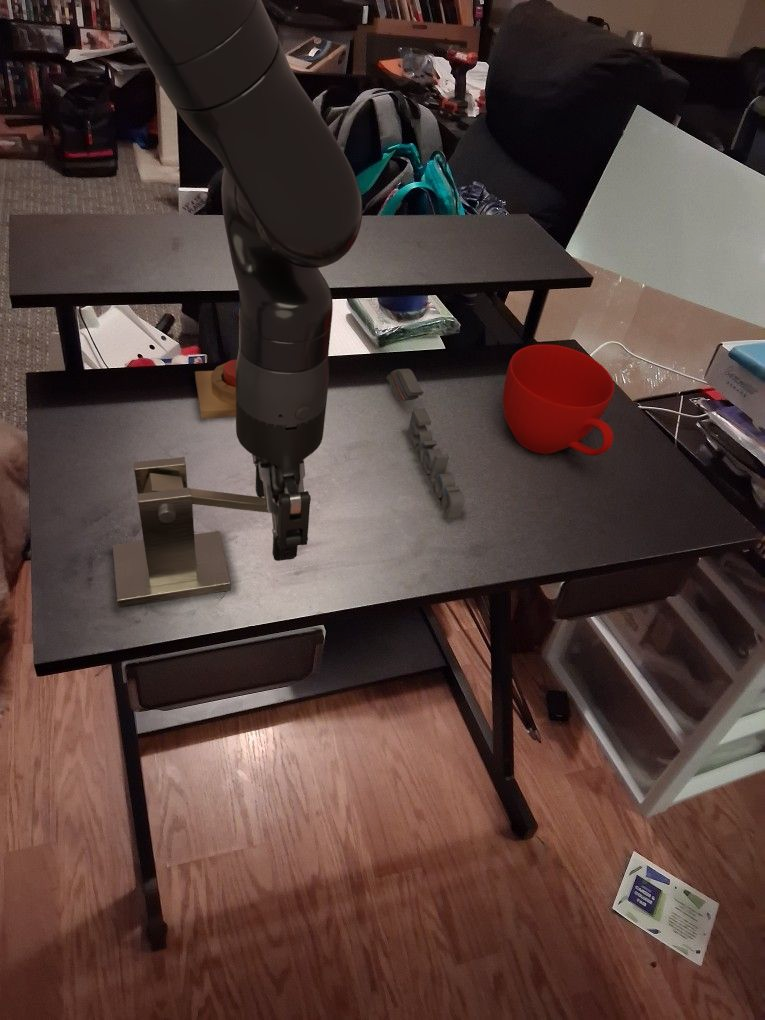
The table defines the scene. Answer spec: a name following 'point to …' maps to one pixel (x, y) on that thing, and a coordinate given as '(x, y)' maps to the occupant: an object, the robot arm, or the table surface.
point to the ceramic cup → (556, 399)
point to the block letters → (427, 444)
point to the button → (230, 373)
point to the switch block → (215, 394)
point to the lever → (208, 494)
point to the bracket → (168, 545)
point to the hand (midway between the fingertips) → (275, 524)
